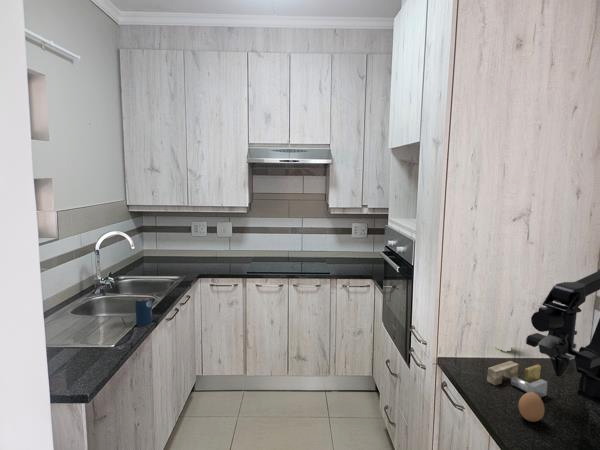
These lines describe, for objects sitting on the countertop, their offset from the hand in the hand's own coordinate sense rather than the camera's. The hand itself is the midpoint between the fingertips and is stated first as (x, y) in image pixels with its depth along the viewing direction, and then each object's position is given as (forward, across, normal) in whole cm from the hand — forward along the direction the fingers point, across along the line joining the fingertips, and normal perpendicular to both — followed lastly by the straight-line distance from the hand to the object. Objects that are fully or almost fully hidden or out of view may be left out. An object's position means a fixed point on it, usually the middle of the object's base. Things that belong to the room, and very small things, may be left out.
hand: (558, 376), depth 123 cm
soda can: (+9, -123, -103) cm, 161 cm away
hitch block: (+10, -18, 0) cm, 20 cm away
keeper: (+10, -12, +8) cm, 18 cm away
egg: (+10, +1, -14) cm, 17 cm away
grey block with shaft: (+10, -10, 0) cm, 14 cm away
